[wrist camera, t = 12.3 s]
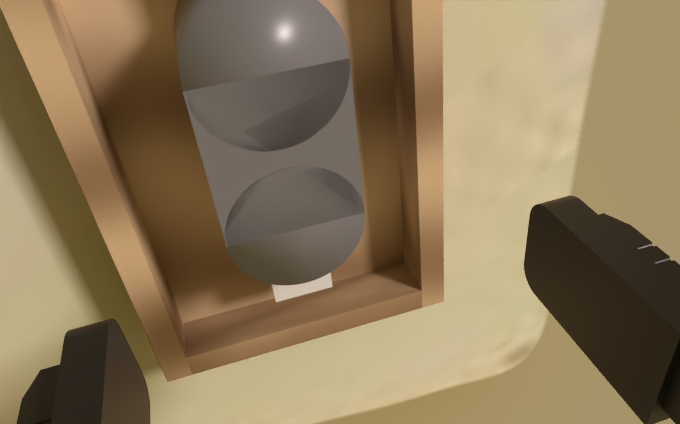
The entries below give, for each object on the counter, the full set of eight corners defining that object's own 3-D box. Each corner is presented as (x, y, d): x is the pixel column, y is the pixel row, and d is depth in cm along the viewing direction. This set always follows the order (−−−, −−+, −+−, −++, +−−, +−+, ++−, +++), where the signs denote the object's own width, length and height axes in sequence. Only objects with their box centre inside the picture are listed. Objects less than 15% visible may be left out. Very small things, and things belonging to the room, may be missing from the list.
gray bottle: (129, -128, 15) (122, -121, 11) (289, -149, 16) (329, -149, 12) (237, 265, 23) (253, 342, 19) (340, 238, 23) (374, 308, 20)
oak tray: (-79, -251, 13) (-124, -270, 11) (400, -298, 15) (441, -322, 13) (166, 336, 24) (167, 381, 22) (420, 265, 26) (443, 301, 24)
